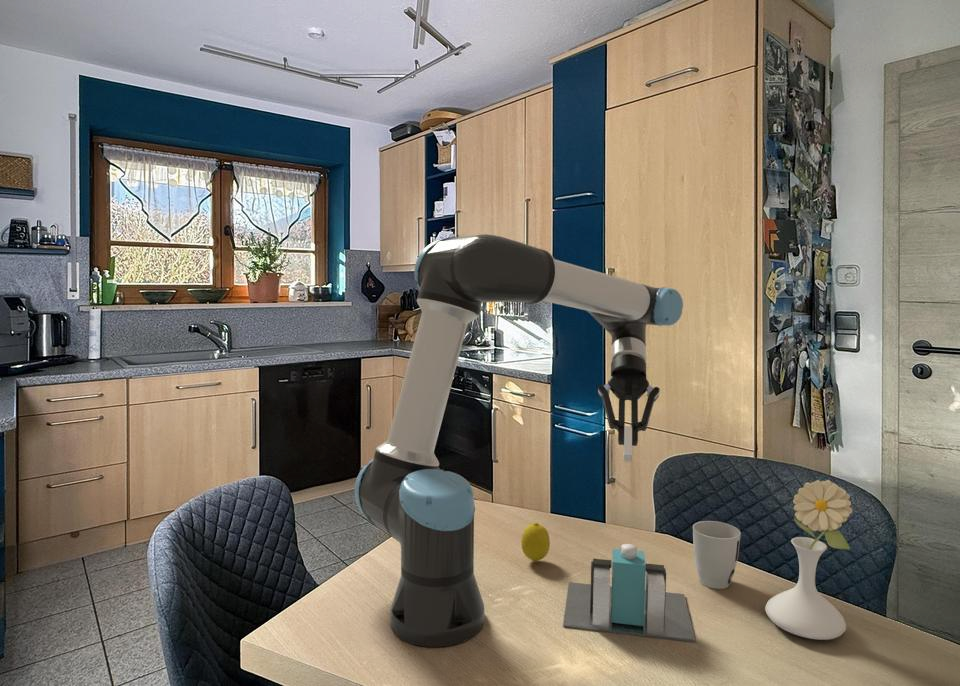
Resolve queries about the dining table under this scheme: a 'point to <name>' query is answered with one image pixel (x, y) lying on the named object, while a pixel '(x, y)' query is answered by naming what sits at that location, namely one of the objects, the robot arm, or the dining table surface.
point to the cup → (715, 552)
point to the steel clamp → (661, 608)
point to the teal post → (628, 585)
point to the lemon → (535, 542)
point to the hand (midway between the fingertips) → (627, 458)
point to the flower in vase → (813, 564)
